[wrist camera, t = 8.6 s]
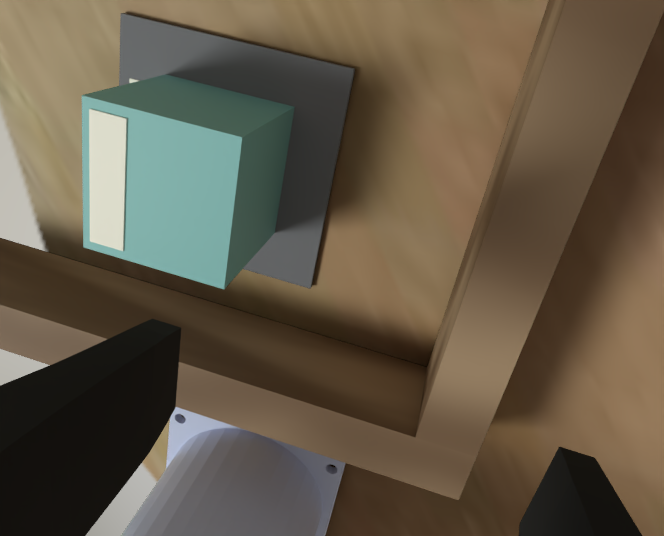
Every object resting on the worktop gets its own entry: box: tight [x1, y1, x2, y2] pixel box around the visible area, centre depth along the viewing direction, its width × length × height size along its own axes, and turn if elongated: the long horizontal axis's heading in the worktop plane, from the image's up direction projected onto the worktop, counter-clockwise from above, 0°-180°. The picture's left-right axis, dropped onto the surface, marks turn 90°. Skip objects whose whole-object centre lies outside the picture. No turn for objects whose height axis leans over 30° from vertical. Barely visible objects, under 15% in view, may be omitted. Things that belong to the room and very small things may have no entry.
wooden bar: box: [0, 238, 477, 500], centre depth 22 cm, size 2×22×4 cm, turn 79°
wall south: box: [415, 0, 664, 457], centre depth 17 cm, size 18×2×4 cm, turn 169°
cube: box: [82, 74, 295, 289], centre depth 18 cm, size 5×5×5 cm
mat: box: [119, 13, 355, 288], centre depth 20 cm, size 8×8×1 cm
